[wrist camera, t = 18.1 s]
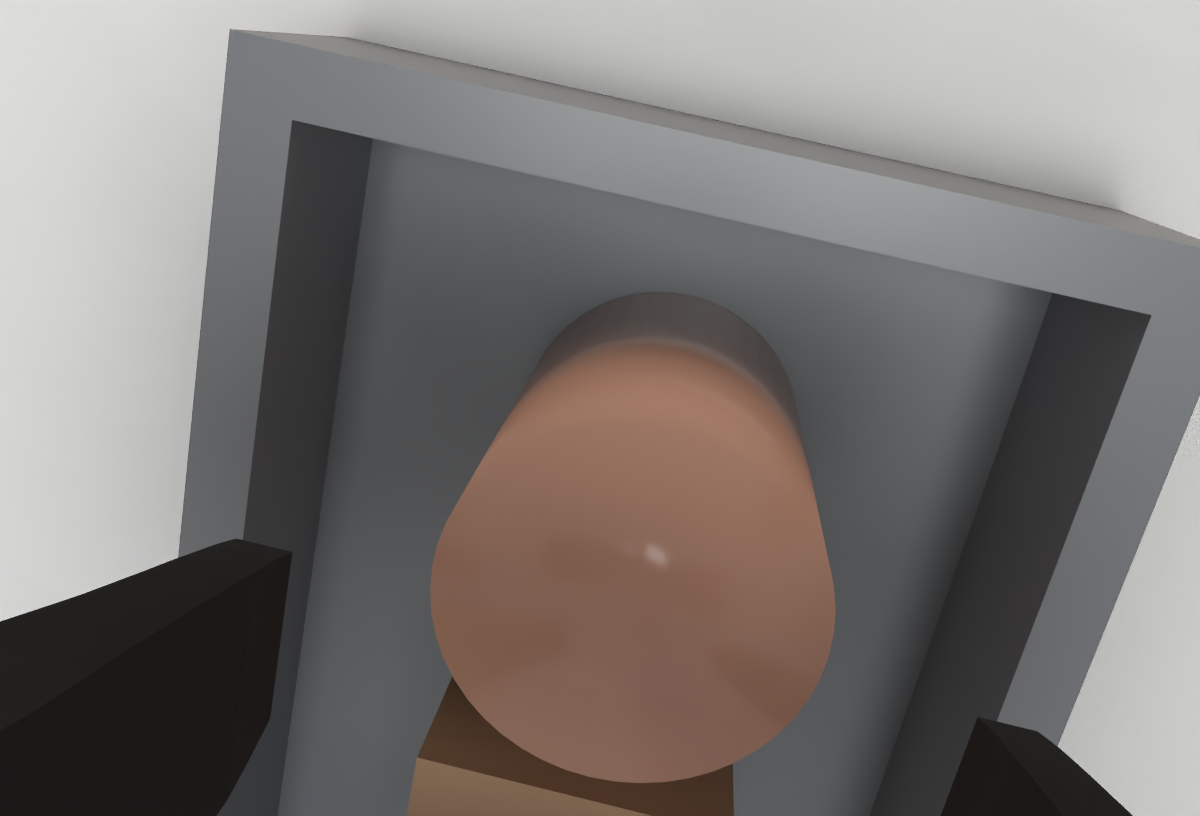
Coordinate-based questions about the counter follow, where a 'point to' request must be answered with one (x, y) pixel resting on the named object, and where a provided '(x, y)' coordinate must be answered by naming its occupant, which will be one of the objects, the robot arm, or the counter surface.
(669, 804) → the walnut cube
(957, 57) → the counter surface
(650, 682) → the terracotta cylinder
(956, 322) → the tote
